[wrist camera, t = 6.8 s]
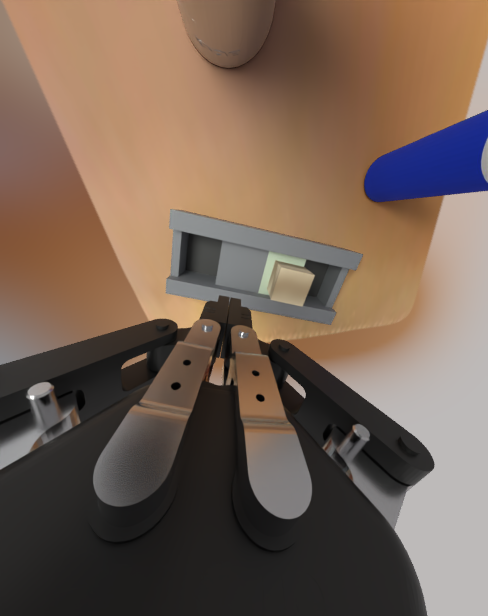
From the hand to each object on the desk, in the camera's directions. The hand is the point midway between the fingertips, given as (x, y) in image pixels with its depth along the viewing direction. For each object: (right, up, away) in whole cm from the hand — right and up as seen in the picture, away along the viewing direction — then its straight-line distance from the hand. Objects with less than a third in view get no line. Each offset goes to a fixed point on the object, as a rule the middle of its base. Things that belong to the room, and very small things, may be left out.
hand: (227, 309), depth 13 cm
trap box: (+3, +7, +16) cm, 18 cm away
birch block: (+7, +4, +13) cm, 15 cm away
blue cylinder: (+19, +17, +12) cm, 28 cm away
